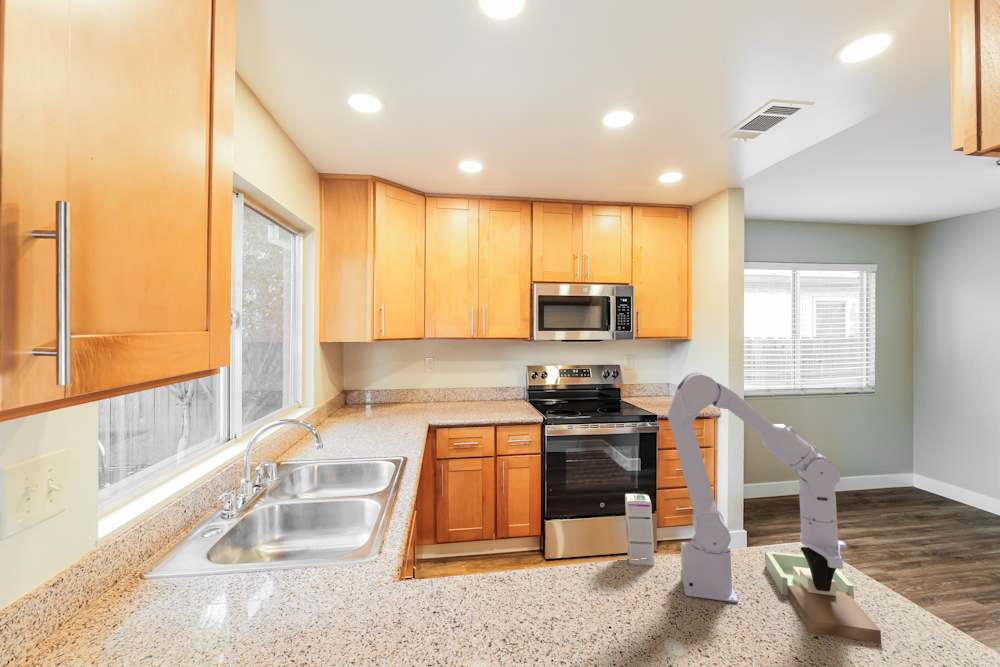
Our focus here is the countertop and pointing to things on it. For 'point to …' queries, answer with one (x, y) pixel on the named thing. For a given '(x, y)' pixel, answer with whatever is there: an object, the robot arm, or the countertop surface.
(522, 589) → the countertop surface
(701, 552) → the robot arm
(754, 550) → the countertop surface
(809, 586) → the tile
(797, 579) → the tile
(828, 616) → the board
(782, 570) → the tray
